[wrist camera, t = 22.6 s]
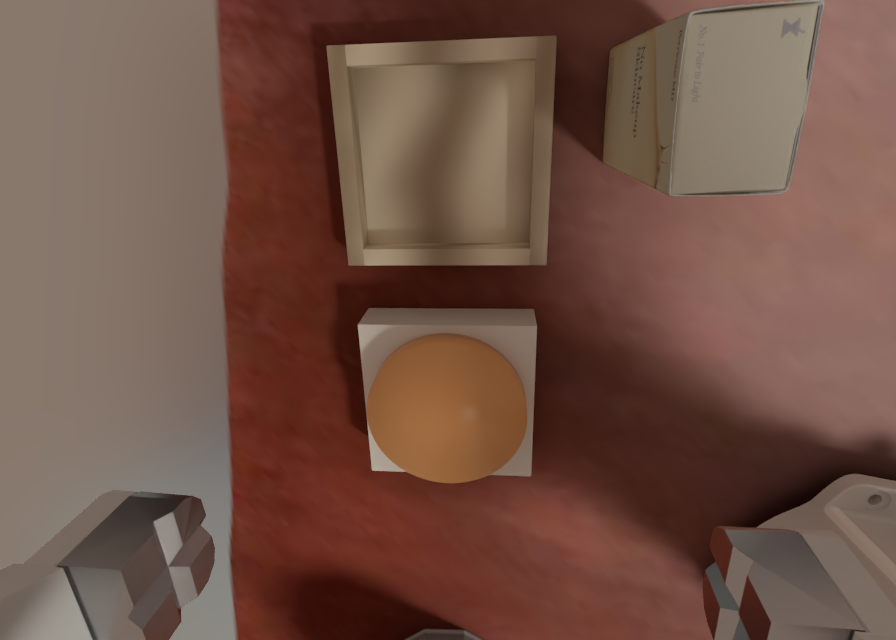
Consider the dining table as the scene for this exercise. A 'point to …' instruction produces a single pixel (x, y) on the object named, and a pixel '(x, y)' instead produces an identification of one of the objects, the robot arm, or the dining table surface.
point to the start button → (447, 408)
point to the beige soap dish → (445, 149)
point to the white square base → (492, 326)
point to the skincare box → (713, 99)
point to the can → (443, 635)
